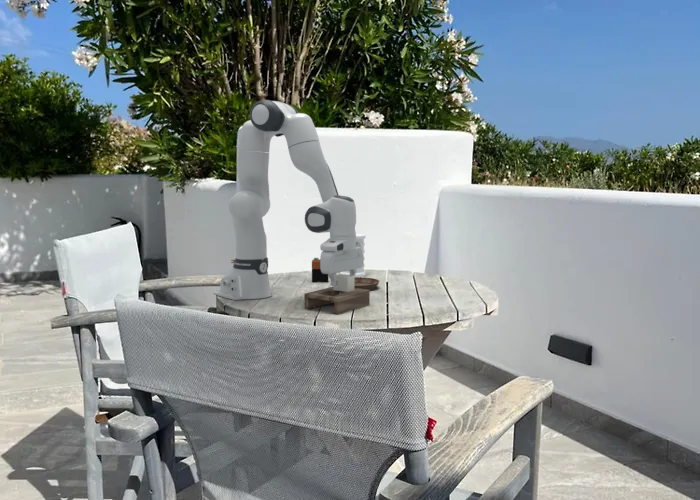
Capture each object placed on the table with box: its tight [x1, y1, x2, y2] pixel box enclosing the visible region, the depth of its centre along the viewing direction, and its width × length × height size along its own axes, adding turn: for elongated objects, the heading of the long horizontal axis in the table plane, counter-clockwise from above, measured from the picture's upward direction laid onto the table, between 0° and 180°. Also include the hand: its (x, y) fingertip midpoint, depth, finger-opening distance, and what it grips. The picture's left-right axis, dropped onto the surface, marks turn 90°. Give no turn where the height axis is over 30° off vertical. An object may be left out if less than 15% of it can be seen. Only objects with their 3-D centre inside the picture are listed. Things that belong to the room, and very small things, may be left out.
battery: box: [311, 257, 329, 283], centre depth 257 cm, size 4×7×10 cm, turn 90°
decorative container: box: [339, 233, 367, 278], centre depth 273 cm, size 12×12×18 cm
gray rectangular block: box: [332, 273, 355, 292], centre depth 210 cm, size 6×4×8 cm
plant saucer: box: [354, 277, 380, 291], centre depth 243 cm, size 18×18×3 cm
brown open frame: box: [303, 286, 371, 315], centre depth 208 cm, size 14×18×5 cm
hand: (342, 283), depth 210 cm, fingers open, 8 cm apart
